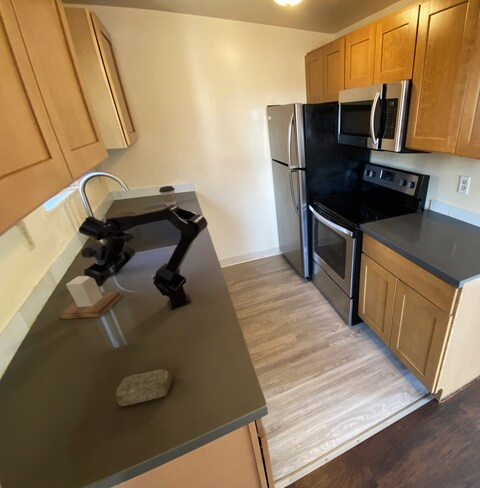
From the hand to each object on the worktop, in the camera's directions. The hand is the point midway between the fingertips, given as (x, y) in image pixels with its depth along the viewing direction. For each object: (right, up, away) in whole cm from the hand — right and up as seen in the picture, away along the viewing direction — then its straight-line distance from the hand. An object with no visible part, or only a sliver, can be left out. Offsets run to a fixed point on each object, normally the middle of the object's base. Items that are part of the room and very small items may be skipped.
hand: (108, 278), depth 102 cm
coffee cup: (-47, +45, +127) cm, 143 cm away
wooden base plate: (-9, -11, +4) cm, 15 cm away
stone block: (+35, -26, -31) cm, 53 cm away
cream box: (-9, -9, +3) cm, 13 cm away
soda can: (-19, -1, +27) cm, 34 cm away
